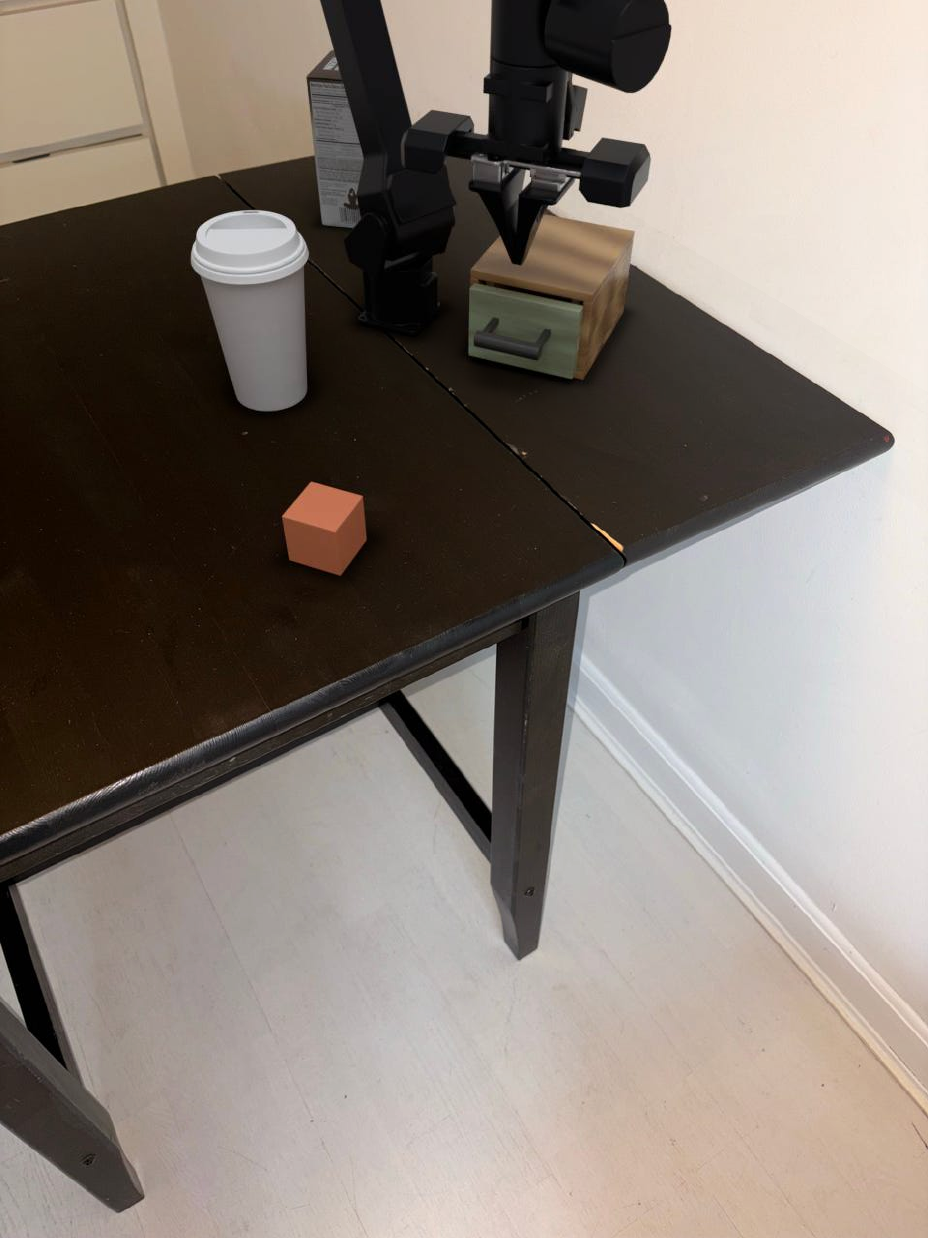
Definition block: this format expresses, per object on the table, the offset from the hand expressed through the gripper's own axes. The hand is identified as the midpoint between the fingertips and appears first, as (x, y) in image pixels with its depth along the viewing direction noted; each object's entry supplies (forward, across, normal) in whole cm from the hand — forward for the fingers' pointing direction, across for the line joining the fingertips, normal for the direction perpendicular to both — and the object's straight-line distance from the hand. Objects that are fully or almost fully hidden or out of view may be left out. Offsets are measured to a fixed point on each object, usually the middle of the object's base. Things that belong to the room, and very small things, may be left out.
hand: (518, 262), depth 80 cm
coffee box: (+12, +30, -27) cm, 42 cm away
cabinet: (+12, 0, -10) cm, 16 cm away
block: (+12, +5, +27) cm, 30 cm away
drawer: (+11, 0, -6) cm, 13 cm away
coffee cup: (+12, +20, +10) cm, 25 cm away
